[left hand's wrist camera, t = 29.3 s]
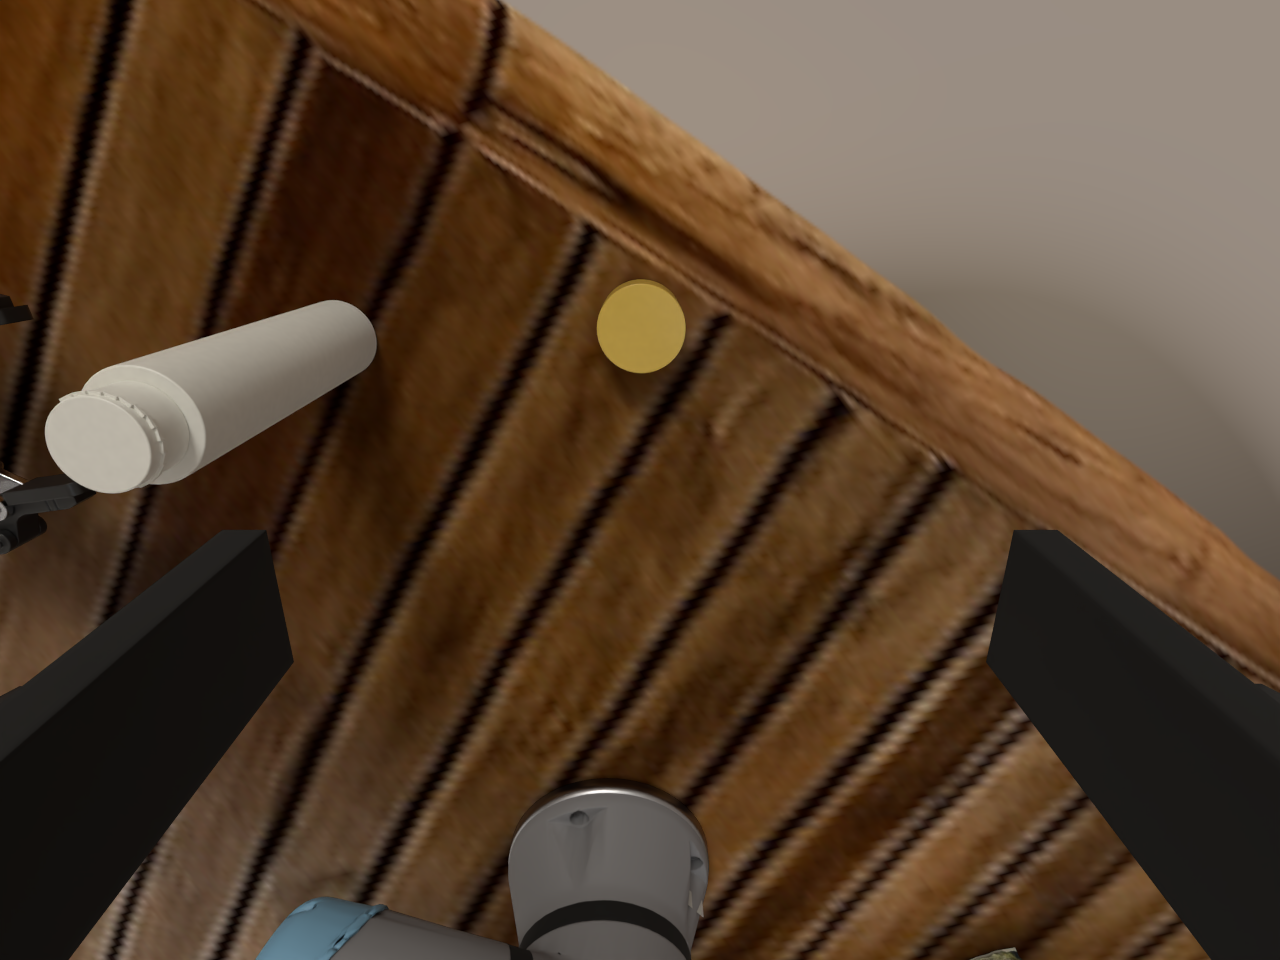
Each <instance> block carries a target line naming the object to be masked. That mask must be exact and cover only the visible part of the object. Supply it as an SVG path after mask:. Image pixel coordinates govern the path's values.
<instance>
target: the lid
mask: <svg viewBox="0 0 1280 960" xmlns="http://www.w3.org/2000/svg"><path fill="white" fill-rule="evenodd" d="M685 333H686V324H685V318H684V314H683V312H682V309H681V307H680V304H679V302H678V300H677V299H676V297H675V296H674V295H673V293H672V292H671V291H670V290H669V289H667V288H666V287H665V286H663V285H661V284H659V283H657V282H654V281H651V280H644V279H638V280H632V281H628V282H626V283H623V284H621V285H620V286H618V287H617V288H615V289H614V290H613V291H612V292H611V293H610V294H609V295H608V297H607V298H606V300H605V301H604V303H603V305H602V308H601V311H600V314H599V317H598V321H597V335H598V340H599V343H600V346H601V348H602V350H603V352H604V353H605V355H606V356H607V357H608V359H609V360H610V361H611V362H613V363H614V364H615V365H616V366H618V367H620V368H622V369H624V370H626V371H629V372H633V373H649V372H653V371H657V370H659V369H661V368H663V367H665V366H666V365H668V364H669V363H670V362H671V361H672V360H673V359H674V358H675V357H676V356H677V354H678V353H679V351H680V349H681V348H682V345H683V343H684V339H685Z"/></svg>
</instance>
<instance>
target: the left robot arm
mask: <svg viewBox="0 0 1280 960" xmlns="http://www.w3.org/2000/svg"><path fill="white" fill-rule="evenodd" d="M293 662H294V661H293V656H292V651H291V646H290V641H289V637H288V632H287V627H286V622H285V618H284V613H283V608H282V603H281V599H280V594H279V589H278V584H277V579H276V575H275V570H274V565H273V560H272V556H271V551H270V546H269V541H268V536H267V532H266V530H222V531H221V532H219V533H218V534H217V535H216V536H214V537H213V538H212V539H210V540H209V541H208V542H207V543H205V544H204V545H203V546H201V547H200V548H199V549H198V550H196V551H195V552H194V553H192V554H191V555H190V556H189V557H187V558H186V559H185V560H183V561H182V562H181V563H180V564H178V565H177V566H176V567H175V568H173V569H172V570H171V571H169V572H168V573H167V574H166V575H164V576H163V577H162V578H160V579H159V580H158V581H157V582H155V583H154V584H153V585H151V586H150V587H149V588H148V589H146V590H145V591H144V592H142V593H141V594H140V595H139V596H137V597H136V598H135V599H134V600H132V601H131V602H130V603H128V604H127V605H126V606H125V607H123V608H122V609H121V610H119V611H118V612H117V613H116V614H114V615H113V616H112V617H110V618H109V619H108V620H107V621H105V622H104V623H103V624H101V625H100V626H99V627H98V628H96V629H95V630H94V631H92V632H91V633H90V634H89V635H87V636H86V637H85V638H84V639H82V640H81V641H80V642H78V643H77V644H76V645H75V646H73V647H72V648H71V649H69V650H68V651H67V652H66V653H64V654H63V655H62V656H60V657H59V658H58V659H57V660H55V661H54V662H53V663H51V664H50V665H49V666H48V667H46V668H45V669H44V670H42V671H41V672H40V673H39V674H37V675H36V676H35V677H34V678H32V679H31V680H30V681H28V682H27V683H26V684H25V685H23V686H19V687H17V688H15V689H13V690H11V691H10V692H8V693H6V694H4V695H2V696H0V960H69V958H70V957H71V956H72V954H73V953H74V952H75V950H76V949H77V948H78V947H79V945H80V944H81V943H82V941H83V940H84V939H85V937H86V936H87V935H88V933H89V932H90V931H91V929H92V928H93V927H94V925H95V924H96V923H97V921H98V920H99V919H100V917H101V916H102V915H103V913H104V912H105V911H106V910H107V908H108V907H109V906H110V904H111V903H112V902H113V900H114V899H115V898H116V896H117V895H118V894H119V892H120V891H121V890H122V888H123V887H124V886H125V884H126V883H127V882H128V880H129V879H130V878H131V876H132V875H133V874H134V873H135V871H136V870H137V869H138V867H139V866H140V865H141V863H142V862H143V861H144V859H145V858H146V857H147V855H148V854H149V853H150V851H151V850H152V849H153V847H154V846H155V845H156V843H157V842H158V841H159V839H160V838H161V837H162V835H163V834H164V833H165V832H166V830H167V829H168V828H169V826H170V825H171V824H172V822H173V821H174V820H175V818H176V817H177V816H178V814H179V813H180V812H181V810H182V809H183V808H184V806H185V805H186V804H187V802H188V801H189V800H190V798H191V797H192V796H193V795H194V793H195V792H196V791H197V789H198V788H199V787H200V785H201V784H202V783H203V781H204V780H205V779H206V777H207V776H208V775H209V773H210V772H211V771H212V769H213V768H214V767H215V765H216V764H217V763H218V761H219V760H220V759H221V758H222V756H223V755H224V754H225V752H226V751H227V750H228V748H229V747H230V746H231V744H232V743H233V742H234V740H235V739H236V738H237V736H238V735H239V734H240V732H241V731H242V730H243V728H244V727H245V726H246V724H247V723H248V722H249V721H250V719H251V718H252V717H253V715H254V714H255V713H256V711H257V710H258V709H259V707H260V706H261V705H262V703H263V702H264V701H265V699H266V698H267V697H268V695H269V694H270V693H271V691H272V690H273V689H274V687H275V686H276V685H277V684H278V682H279V681H280V680H281V678H282V677H283V676H284V674H285V673H286V672H287V670H288V669H289V668H290V666H291V665H292V664H293ZM986 662H987V664H988V665H989V666H990V668H991V669H992V670H993V672H994V673H995V674H996V676H997V677H998V678H999V680H1000V681H1001V682H1002V684H1003V685H1004V686H1005V687H1006V689H1007V690H1008V691H1009V693H1010V694H1011V695H1012V697H1013V698H1014V699H1015V701H1016V702H1017V703H1018V705H1019V706H1020V707H1021V709H1022V710H1023V711H1024V713H1025V714H1026V715H1027V717H1028V718H1029V719H1030V721H1031V722H1032V723H1033V724H1034V726H1035V727H1036V728H1037V730H1038V731H1039V732H1040V734H1041V735H1042V736H1043V738H1044V739H1045V740H1046V742H1047V743H1048V744H1049V746H1050V747H1051V748H1052V750H1053V751H1054V752H1055V754H1056V755H1057V756H1058V758H1059V759H1060V760H1061V761H1062V763H1063V764H1064V765H1065V767H1066V768H1067V769H1068V771H1069V772H1070V773H1071V775H1072V776H1073V777H1074V779H1075V780H1076V781H1077V783H1078V784H1079V785H1080V787H1081V788H1082V789H1083V791H1084V792H1085V793H1086V795H1087V796H1088V797H1089V798H1090V800H1091V801H1092V802H1093V804H1094V805H1095V806H1096V808H1097V809H1098V810H1099V812H1100V813H1101V814H1102V816H1103V817H1104V818H1105V820H1106V821H1107V822H1108V824H1109V825H1110V826H1111V828H1112V829H1113V830H1114V832H1115V833H1116V834H1117V836H1118V837H1119V838H1120V839H1121V841H1122V842H1123V843H1124V845H1125V846H1126V847H1127V849H1128V850H1129V851H1130V853H1131V854H1132V855H1133V857H1134V858H1135V859H1136V861H1137V862H1138V863H1139V865H1140V866H1141V867H1142V869H1143V870H1144V871H1145V873H1146V874H1147V875H1148V876H1149V878H1150V879H1151V880H1152V882H1153V883H1154V884H1155V886H1156V887H1157V888H1158V890H1159V891H1160V892H1161V894H1162V895H1163V896H1164V898H1165V899H1166V900H1167V902H1168V903H1169V904H1170V906H1171V907H1172V908H1173V910H1174V911H1175V912H1176V913H1177V915H1178V916H1179V917H1180V919H1181V920H1182V921H1183V923H1184V924H1185V925H1186V927H1187V928H1188V929H1189V931H1190V932H1191V933H1192V935H1193V936H1194V937H1195V939H1196V940H1197V941H1198V943H1199V944H1200V945H1201V947H1202V948H1203V949H1204V950H1205V952H1206V953H1207V954H1208V956H1209V957H1210V958H1211V960H1280V693H1278V692H1276V691H1274V690H1273V689H1271V688H1269V687H1267V686H1265V685H1263V684H1254V683H1253V682H1252V681H1250V680H1249V679H1248V678H1246V677H1245V676H1244V675H1243V674H1241V673H1240V672H1239V671H1238V670H1236V669H1235V668H1234V667H1232V666H1231V665H1230V664H1229V663H1227V662H1226V661H1225V660H1223V659H1222V658H1221V657H1220V656H1218V655H1217V654H1216V653H1214V652H1213V651H1212V650H1211V649H1209V648H1208V647H1207V646H1205V645H1204V644H1203V643H1202V642H1200V641H1199V640H1198V639H1196V638H1195V637H1194V636H1193V635H1191V634H1190V633H1189V632H1188V631H1186V630H1185V629H1184V628H1182V627H1181V626H1180V625H1179V624H1177V623H1176V622H1175V621H1173V620H1172V619H1171V618H1170V617H1168V616H1167V615H1166V614H1164V613H1163V612H1162V611H1161V610H1159V609H1158V608H1157V607H1155V606H1154V605H1153V604H1152V603H1150V602H1149V601H1148V600H1146V599H1145V598H1144V597H1143V596H1141V595H1140V594H1139V593H1138V592H1136V591H1135V590H1134V589H1132V588H1131V587H1130V586H1129V585H1127V584H1126V583H1125V582H1123V581H1122V580H1121V579H1120V578H1118V577H1117V576H1116V575H1114V574H1113V573H1112V572H1111V571H1109V570H1108V569H1107V568H1105V567H1104V566H1103V565H1102V564H1100V563H1099V562H1098V561H1097V560H1095V559H1094V558H1093V557H1091V556H1090V555H1089V554H1088V553H1086V552H1085V551H1084V550H1082V549H1081V548H1080V547H1079V546H1077V545H1076V544H1075V543H1073V542H1072V541H1071V540H1070V539H1068V538H1067V537H1066V536H1064V535H1063V534H1062V533H1061V532H1059V531H1058V530H1014V532H1013V536H1012V541H1011V546H1010V551H1009V556H1008V560H1007V565H1006V570H1005V575H1004V579H1003V584H1002V589H1001V594H1000V599H999V603H998V608H997V613H996V618H995V622H994V627H993V632H992V637H991V641H990V646H989V651H988V656H987V661H986ZM508 864H509V871H508V877H509V886H510V891H511V898H512V904H513V910H514V916H515V922H516V928H517V935H518V941H519V947H515V946H512V945H509V944H507V943H503V942H499V941H496V940H492V939H488V938H485V937H481V936H478V935H474V934H470V933H467V932H463V931H460V930H456V929H452V928H449V927H445V926H442V925H439V924H435V923H432V922H429V921H425V920H422V919H419V918H415V917H412V916H409V915H405V914H402V913H399V912H395V911H392V910H389V909H388V907H387V906H385V905H383V904H379V905H375V906H370V905H365V904H360V903H355V902H351V901H346V900H342V899H338V898H333V897H319V898H315V899H312V900H309V901H307V902H305V903H304V904H302V905H300V906H299V907H298V908H296V909H295V910H294V911H293V912H292V913H291V914H290V915H289V916H288V917H287V918H286V919H285V920H284V921H283V923H282V924H281V925H280V926H279V927H278V928H277V930H276V931H275V932H274V934H273V935H272V936H271V938H270V939H269V940H268V942H267V943H266V945H265V946H264V948H263V949H262V950H261V952H260V953H259V955H258V956H257V958H256V959H255V960H691V947H692V943H693V939H694V935H695V932H696V928H697V924H698V920H699V916H700V915H701V916H702V917H703V918H704V916H703V905H702V904H703V901H704V897H705V893H706V889H707V883H708V872H709V861H708V851H707V843H706V839H705V835H704V832H703V830H702V828H701V826H700V824H699V822H698V820H697V819H696V818H695V816H694V815H693V814H692V812H691V811H690V810H689V809H688V808H687V807H686V806H685V805H683V804H682V803H681V802H680V801H679V800H677V799H676V798H674V797H673V796H671V795H670V794H668V793H666V792H664V791H662V790H660V789H658V788H656V787H653V786H650V785H647V784H644V783H640V782H636V781H631V780H625V779H613V778H603V779H591V780H584V781H579V782H575V783H572V784H568V785H566V786H563V787H560V788H558V789H556V790H554V791H552V792H550V793H548V794H547V795H545V796H543V797H542V798H541V799H539V800H538V801H537V802H535V803H534V804H533V805H532V806H531V807H530V808H529V809H528V810H527V811H526V813H525V814H524V815H523V817H522V818H521V819H520V821H519V823H518V825H517V827H516V829H515V832H514V835H513V839H512V844H511V849H510V854H509V862H508Z"/></svg>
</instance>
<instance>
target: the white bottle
mask: <svg viewBox="0 0 1280 960" xmlns="http://www.w3.org/2000/svg"><path fill="white" fill-rule="evenodd" d="M376 348H377V341H376V335H375V331H374V328H373V326H372V324H371V323H370V321H369V320H368V318H367V317H366V316H365V315H364V314H363V313H362V312H361V311H360V310H359V309H357V308H356V307H354V306H353V305H351V304H348V303H346V302H343V301H338V300H328V301H323V302H319V303H316V304H313V305H310V306H306V307H303V308H300V309H297V310H293V311H290V312H287V313H284V314H280V315H277V316H274V317H270V318H267V319H264V320H261V321H257V322H254V323H251V324H248V325H244V326H241V327H238V328H234V329H231V330H228V331H225V332H221V333H218V334H215V335H212V336H208V337H205V338H202V339H199V340H195V341H192V342H189V343H185V344H182V345H179V346H176V347H172V348H169V349H166V350H163V351H159V352H156V353H153V354H150V355H146V356H143V357H140V358H136V359H133V360H130V361H127V362H123V363H120V364H117V365H114V366H110V367H108V368H105V369H103V370H101V371H99V372H97V373H96V374H95V375H93V376H92V377H91V378H90V379H89V380H88V381H87V383H86V384H85V386H84V387H83V389H82V391H78V392H73V393H70V394H68V395H66V396H64V397H62V398H60V399H59V400H60V403H59V404H58V405H56V406H55V407H54V409H53V410H52V411H51V413H50V414H49V416H48V418H47V421H46V426H45V438H46V443H47V447H48V449H49V452H50V454H51V456H52V458H53V460H54V461H55V462H56V464H57V465H58V466H59V468H60V469H61V470H62V471H63V472H64V473H65V474H66V475H67V476H68V477H70V478H71V479H72V480H74V481H75V482H77V483H78V484H80V485H82V486H84V487H86V488H88V489H91V490H94V491H98V492H103V493H122V492H127V491H129V490H132V489H134V488H138V487H140V488H141V487H143V486H145V485H147V484H168V483H173V482H176V481H179V480H181V479H183V478H185V477H187V476H189V475H190V474H192V473H194V472H195V471H197V470H199V469H200V468H202V467H204V466H205V465H207V464H209V463H210V462H212V461H214V460H215V459H217V458H219V457H220V456H222V455H224V454H225V453H227V452H229V451H230V450H232V449H234V448H235V447H237V446H239V445H240V444H242V443H244V442H245V441H247V440H249V439H250V438H252V437H254V436H255V435H257V434H259V433H260V432H262V431H264V430H265V429H267V428H269V427H270V426H272V425H274V424H275V423H277V422H279V421H280V420H282V419H284V418H285V417H287V416H289V415H290V414H292V413H294V412H295V411H297V410H299V409H300V408H302V407H303V406H305V405H307V404H308V403H310V402H312V401H313V400H315V399H317V398H318V397H320V396H322V395H323V394H325V393H327V392H328V391H330V390H332V389H333V388H335V387H337V386H338V385H340V384H342V383H343V382H345V381H347V380H348V379H350V378H352V377H353V376H355V375H357V374H358V373H360V372H362V371H363V370H365V369H366V368H367V367H368V366H369V365H370V363H371V362H372V360H373V358H374V356H375V353H376Z"/></svg>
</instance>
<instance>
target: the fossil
mask: <svg viewBox="0 0 1280 960" xmlns="http://www.w3.org/2000/svg"><path fill="white" fill-rule="evenodd" d="M970 960H1022V959H1021V958H1020V957H1019V955H1018V953H1017V951H1016V949H1015V947H1014V948H1009V949H1003V950H997V951H993V952H991V953H989V954H986V955H982V956H978V957H975V958H973V959H970Z"/></svg>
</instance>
